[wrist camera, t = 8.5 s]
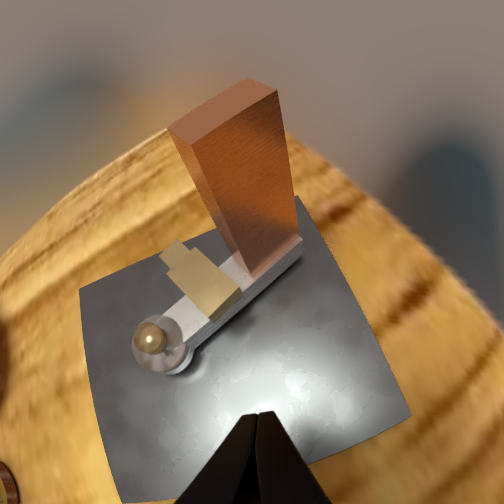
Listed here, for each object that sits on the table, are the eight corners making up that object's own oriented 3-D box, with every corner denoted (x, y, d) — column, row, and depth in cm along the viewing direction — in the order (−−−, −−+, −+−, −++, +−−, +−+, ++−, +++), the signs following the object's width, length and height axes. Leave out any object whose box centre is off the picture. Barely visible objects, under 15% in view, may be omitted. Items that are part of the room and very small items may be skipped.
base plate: (407, 416, 16) (411, 416, 15) (129, 501, 16) (121, 503, 15) (298, 203, 25) (297, 195, 24) (85, 293, 25) (78, 288, 24)
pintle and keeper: (159, 371, 21) (121, 357, 16) (169, 275, 24) (139, 242, 20) (255, 373, 19) (237, 361, 15) (256, 268, 23) (240, 231, 19)
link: (163, 385, 19) (10, 330, 8) (136, 344, 20) (-3, 262, 10) (310, 258, 21) (294, 97, 10) (274, 227, 23) (233, 73, 12)
